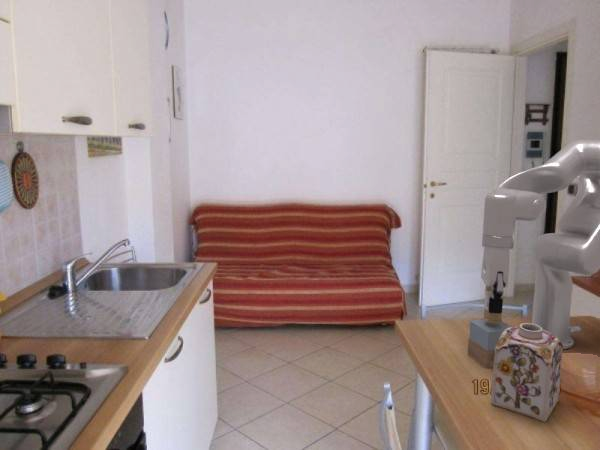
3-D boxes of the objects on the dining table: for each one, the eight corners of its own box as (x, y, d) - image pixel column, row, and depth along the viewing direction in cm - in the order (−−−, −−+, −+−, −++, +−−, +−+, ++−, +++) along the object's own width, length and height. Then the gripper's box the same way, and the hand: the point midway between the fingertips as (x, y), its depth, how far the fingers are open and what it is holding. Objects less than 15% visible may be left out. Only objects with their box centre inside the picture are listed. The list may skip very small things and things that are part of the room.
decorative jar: (506, 384, 119) (511, 313, 116) (559, 400, 112) (566, 324, 109) (489, 405, 110) (494, 328, 107) (545, 424, 103) (553, 342, 100)
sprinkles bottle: (505, 321, 130) (508, 272, 127) (494, 325, 127) (497, 274, 125) (490, 316, 133) (493, 268, 131) (479, 319, 131) (482, 270, 128)
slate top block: (495, 335, 136) (496, 318, 135) (514, 347, 128) (515, 329, 128) (469, 338, 134) (470, 320, 133) (487, 350, 126) (488, 332, 126)
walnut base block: (492, 352, 137) (493, 335, 136) (512, 364, 130) (513, 346, 129) (467, 355, 135) (468, 338, 134) (486, 368, 127) (487, 350, 126)
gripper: (476, 234, 135) (472, 298, 139) (488, 248, 119) (484, 320, 122) (505, 235, 134) (501, 299, 137) (522, 249, 118) (516, 322, 121)
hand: (493, 308), depth 130 cm, fingers closed on sprinkles bottle, 4 cm apart
